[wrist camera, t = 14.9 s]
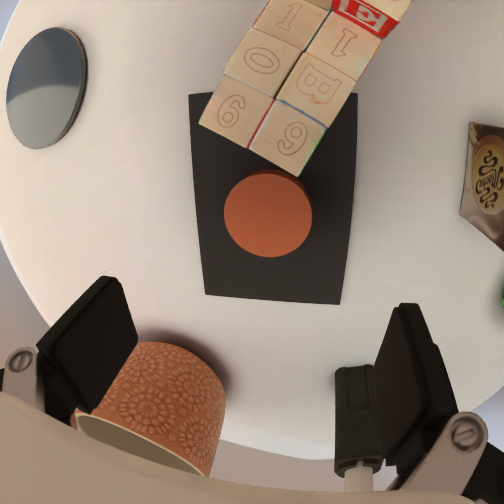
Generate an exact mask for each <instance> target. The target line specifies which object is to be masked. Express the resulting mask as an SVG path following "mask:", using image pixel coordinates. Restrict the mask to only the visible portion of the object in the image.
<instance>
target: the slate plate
mask: <svg viewBox="0 0 504 504" xmlns="http://www.w3.org/2000/svg"><path fill="white" fill-rule="evenodd" d="M85 74H86V66H85V56H84V52H83V48H82V46H81V43H80V41H79V40H78V38H77V37H76V36H75V35H74V34H73V33H72V32H71V31H69V30H67V29H63V28H49V29H46V30H44V31H42V32H40V33H38V34H37V35H35V36H34V37H33V38H32V39H31V40H30V41H29V42H28V43H27V44H26V45H25V47H24V48H23V49H22V51H21V52H20V54H19V56H18V57H17V59H16V61H15V63H14V66H13V68H12V71H11V74H10V78H9V82H8V87H7V96H6V106H7V115H8V120H9V124H10V126H11V129H12V131H13V133H14V135H15V136H16V138H17V139H18V140H19V142H20V143H22V144H23V145H24V146H26V147H28V148H31V149H41V148H45V147H48V146H50V145H52V144H54V143H55V142H56V141H58V140H59V139H60V138H61V137H62V136H63V135H64V134H65V132H66V131H67V130H68V128H69V127H70V125H71V123H72V122H73V120H74V118H75V116H76V113H77V111H78V108H79V106H80V102H81V99H82V95H83V90H84V85H85Z"/></svg>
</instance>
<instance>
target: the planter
mask: <svg viewBox="0 0 504 504" xmlns="http://www.w3.org/2000/svg"><path fill="white" fill-rule="evenodd" d="M225 406H226V399H225V393H224V389H223V386H222V384H221V382H220V380H219V378H218V377H217V375H216V374H215V372H214V371H213V370H212V369H211V368H210V367H209V366H208V365H207V364H206V363H205V362H204V361H203V360H202V359H200V358H199V357H198V356H196V355H195V354H193V353H192V352H190V351H188V350H186V349H184V348H181V347H179V346H176V345H173V344H169V343H164V342H142V343H138V344H137V345H136V347H135V348H134V350H133V351H132V353H131V355H130V356H129V358H128V359H127V361H126V362H125V364H124V366H123V367H122V369H121V370H120V372H119V373H118V375H117V377H116V378H115V380H114V381H113V383H112V385H111V386H110V388H109V390H108V391H107V393H106V394H105V396H104V398H103V399H102V401H101V403H100V404H99V406H98V407H97V408H96V409H93V411H92V413H91V414H90V415H88V414H86V413H84V412H82V411H80V410H79V409H78V408H77V409H76V411H75V417H76V423H77V429H78V431H79V432H82V433H84V434H86V435H88V436H90V437H92V438H94V439H96V440H99V441H101V442H103V443H105V444H108V445H110V446H112V447H115V448H117V449H120V450H122V451H125V452H127V453H130V454H133V455H135V456H138V457H141V458H144V459H146V460H149V461H152V462H155V463H158V464H161V465H165V466H168V467H171V468H175V469H178V470H182V471H185V472H189V473H193V474H197V475H201V476H205V477H209V474H210V471H211V467H212V464H213V460H214V456H215V452H216V449H217V445H218V441H219V438H220V434H221V430H222V425H223V421H224V415H225Z"/></svg>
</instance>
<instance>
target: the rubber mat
mask: <svg viewBox="0 0 504 504" xmlns="http://www.w3.org/2000/svg"><path fill="white" fill-rule="evenodd" d="M213 93H214V92H209V93H199V94H190V95H189V117H190V136H191V152H192V167H193V180H194V192H195V204H196V215H197V225H198V235H199V245H200V254H201V263H202V271H203V280H204V288H205V294H206V295H215V296H225V297H236V298H247V299H259V300H271V301H284V302H299V303H315V304H332V305H340V299H341V293H342V287H343V280H344V274H345V267H346V259H347V252H348V244H349V235H350V226H351V217H352V206H353V195H354V182H355V166H356V146H357V106H358V94H357V93H350V95H349V96H348V98H347V100H346V101H345V103H344V104H343V106H342V108H341V109H340V111H339V113H338V114H337V116H336V118H335V119H334V121H333V123H332V124H331V125H330V127H329V128H328V129H327V130H326V132H325V133H324V135H323V137H322V139H321V141H320V142H319V144H318V146H317V147H316V149H315V150H314V152H313V154H312V155H311V157H310V159H309V160H308V162H307V164H306V165H305V167H304V169H303V170H302V172H301V174H300V175H299V176H298V177H297V176H295V175H293V174H291V173H290V172H288V171H286V170H285V169H283V168H281V167H279V166H278V165H276V164H274V163H272V162H271V161H269V160H267V159H265V158H264V157H262V156H260V155H258V154H257V153H255V152H253V151H252V150H250V149H248V148H244V147H242V146H241V145H239V144H237V143H235V142H233V141H231V140H229V139H228V138H226V137H224V136H222V135H220V134H218V133H216V132H214V131H212V130H210V129H208V128H206V127H204V126H202V125H200V124H198V123H199V120H200V118H201V116H202V114H203V112H204V110H205V108H206V106H207V104H208V102H209V100H210V98H211V97H212V95H213ZM263 169H276V170H281V171H284V172H286V173H288V174H290V175H292V176H294V177H295V178H296V179H298V180H299V181H300V182H301V183H302V184H303V186H304V187H305V189H306V190H307V192H308V194H309V196H310V199H311V204H312V225H311V229H310V232H309V234H308V236H307V238H306V239H305V241H304V242H303V243H302V244H301V245H300V246H299V247H298V248H297V249H295V250H294V251H292V252H290V253H288V254H285V255H282V256H278V257H262V256H258V255H255V254H252V253H250V252H248V251H246V250H245V249H243V248H242V247H240V246H239V245H238V244H237V243H236V242H235V241H234V240H233V238H232V237H231V235H230V234H229V232H228V229H227V227H226V224H225V219H224V207H225V203H226V199H227V197H228V195H229V193H230V192H231V190H232V189H233V188H234V187H235V186H236V185H237V183H238V182H239V181H240V180H242V179H243V178H244V177H245V176H247V175H248V174H250V173H252V172H255V171H258V170H263Z"/></svg>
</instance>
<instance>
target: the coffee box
mask: <svg viewBox="0 0 504 504" xmlns="http://www.w3.org/2000/svg"><path fill="white" fill-rule="evenodd" d="M460 215H461V216H462V217H464V218H465V219H466V220H467V221H469V222H470V223H471V224H472V225H474V226H475V227H476V228H477V229H478V230H479V231H481V232H482V233H483V234H484V235H485V236H487V237H488V238H489V239H490V240H491V241H492V242H494V243H495V244H496V245H497V246H498V247H499V248H500V249H501V250H503V251H504V128H503V127H497V126H492V125H485V124H479V123H474V122H471V123H470V124H469V143H468V157H467V168H466V177H465V185H464V193H463V199H462V206H461V211H460Z"/></svg>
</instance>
